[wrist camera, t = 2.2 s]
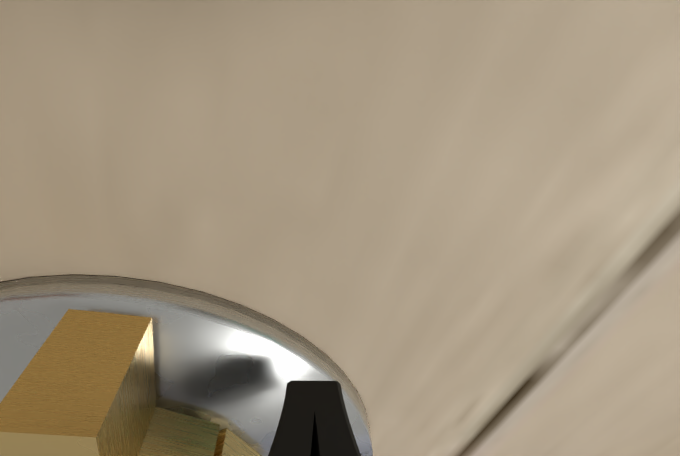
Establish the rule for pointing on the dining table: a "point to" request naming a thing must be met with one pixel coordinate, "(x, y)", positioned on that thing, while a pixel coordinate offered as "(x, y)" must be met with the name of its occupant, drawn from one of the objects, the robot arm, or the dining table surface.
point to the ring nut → (101, 398)
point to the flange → (183, 350)
